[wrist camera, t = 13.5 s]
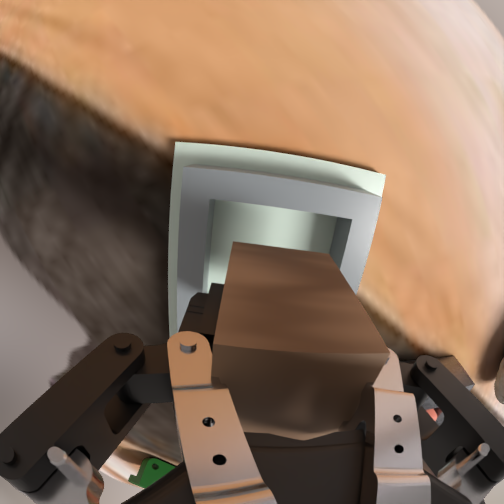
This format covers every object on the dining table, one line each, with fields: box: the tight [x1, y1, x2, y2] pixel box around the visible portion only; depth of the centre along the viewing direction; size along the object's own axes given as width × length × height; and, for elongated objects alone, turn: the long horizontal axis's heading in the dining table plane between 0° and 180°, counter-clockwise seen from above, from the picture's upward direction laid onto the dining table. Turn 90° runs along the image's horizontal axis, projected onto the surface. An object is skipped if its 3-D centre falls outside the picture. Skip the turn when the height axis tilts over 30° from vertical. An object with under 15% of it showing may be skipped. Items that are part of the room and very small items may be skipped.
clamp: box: [128, 458, 175, 488], centre depth 30 cm, size 12×6×9 cm, turn 41°
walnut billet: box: [211, 241, 390, 440], centre depth 10 cm, size 4×4×7 cm
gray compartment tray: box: [168, 142, 386, 337], centre depth 18 cm, size 13×22×4 cm, turn 172°
